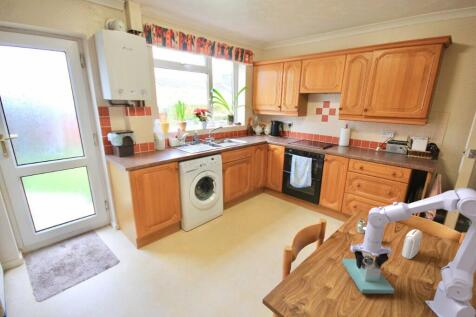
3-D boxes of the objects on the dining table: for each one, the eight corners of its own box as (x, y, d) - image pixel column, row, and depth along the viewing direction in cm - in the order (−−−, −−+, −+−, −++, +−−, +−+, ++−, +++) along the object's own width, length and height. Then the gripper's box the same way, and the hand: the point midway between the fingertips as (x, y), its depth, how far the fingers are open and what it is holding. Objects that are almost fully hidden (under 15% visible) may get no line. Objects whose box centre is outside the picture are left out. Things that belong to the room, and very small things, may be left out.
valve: (352, 231, 122) (372, 243, 111) (354, 220, 120) (375, 232, 110) (360, 228, 125) (381, 240, 114) (362, 218, 123) (383, 229, 112)
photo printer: (408, 247, 109) (414, 225, 105) (419, 252, 105) (425, 230, 102) (399, 255, 103) (405, 232, 100) (410, 260, 100) (416, 237, 96)
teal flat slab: (393, 296, 81) (394, 289, 80) (360, 295, 81) (361, 289, 80) (368, 265, 97) (369, 259, 96) (341, 264, 97) (342, 258, 96)
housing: (367, 265, 92) (369, 251, 91) (378, 282, 84) (381, 266, 82) (354, 264, 93) (357, 250, 91) (364, 281, 84) (367, 265, 82)
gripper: (357, 243, 81) (352, 273, 84) (399, 246, 79) (392, 276, 83) (350, 232, 88) (345, 260, 91) (388, 234, 86) (382, 263, 90)
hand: (367, 267), depth 87 cm, fingers open, 6 cm apart
